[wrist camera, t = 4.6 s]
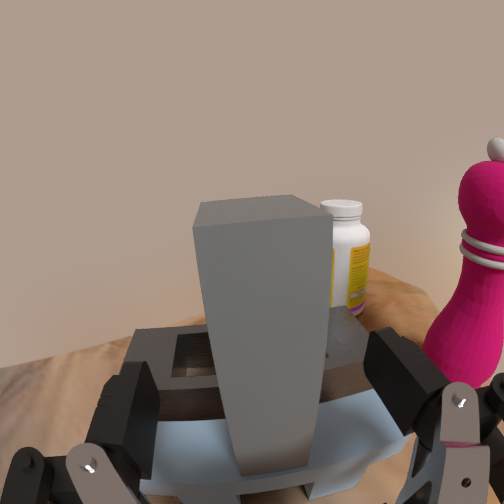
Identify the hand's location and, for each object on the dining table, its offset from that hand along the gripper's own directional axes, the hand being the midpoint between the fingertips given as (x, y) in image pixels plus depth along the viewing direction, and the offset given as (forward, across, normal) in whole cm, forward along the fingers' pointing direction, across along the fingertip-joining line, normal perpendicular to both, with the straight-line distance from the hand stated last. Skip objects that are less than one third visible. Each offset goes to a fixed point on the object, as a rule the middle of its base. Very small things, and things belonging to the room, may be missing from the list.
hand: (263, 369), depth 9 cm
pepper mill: (+3, -16, +11) cm, 20 cm away
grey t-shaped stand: (0, 0, +11) cm, 11 cm away
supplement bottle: (+20, -12, +11) cm, 26 cm away
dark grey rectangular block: (+10, 0, +11) cm, 15 cm away
